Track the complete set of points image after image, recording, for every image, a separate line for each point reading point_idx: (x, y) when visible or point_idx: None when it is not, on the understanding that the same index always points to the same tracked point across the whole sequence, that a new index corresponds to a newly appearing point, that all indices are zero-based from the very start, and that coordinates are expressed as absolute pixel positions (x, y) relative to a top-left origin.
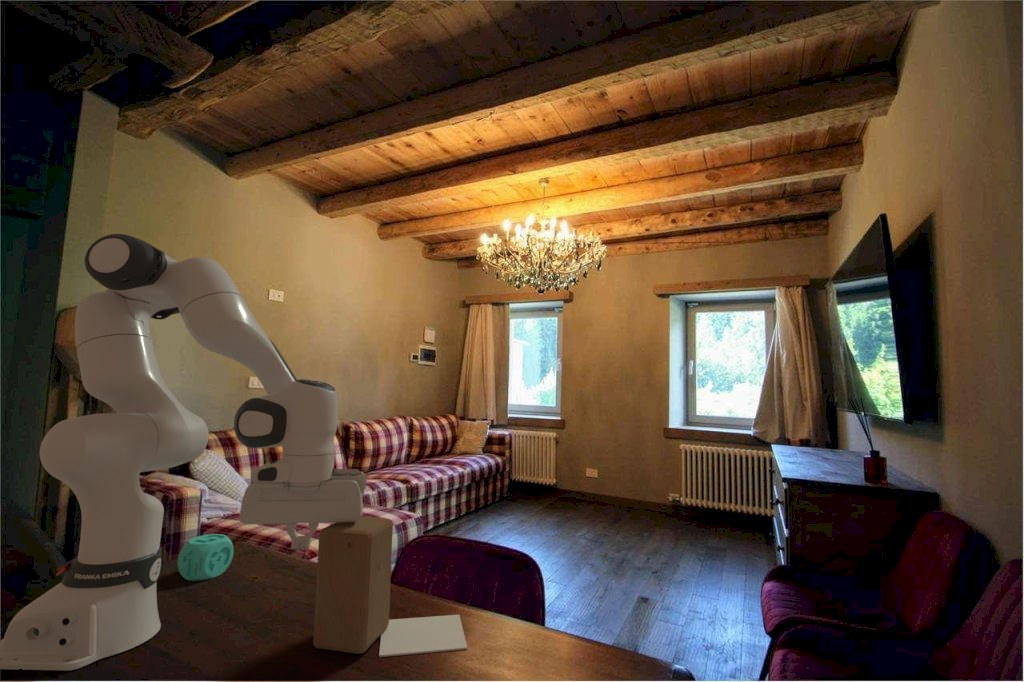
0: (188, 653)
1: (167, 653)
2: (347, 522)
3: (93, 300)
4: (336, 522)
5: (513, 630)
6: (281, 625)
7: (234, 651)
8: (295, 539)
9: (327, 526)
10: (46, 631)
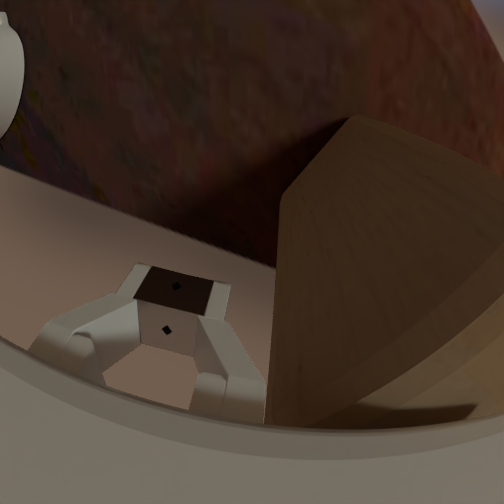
0: (74, 142)
1: (51, 135)
2: (444, 415)
3: None
4: (397, 406)
5: None
6: (214, 70)
7: (138, 154)
8: (140, 340)
9: (321, 420)
10: None
